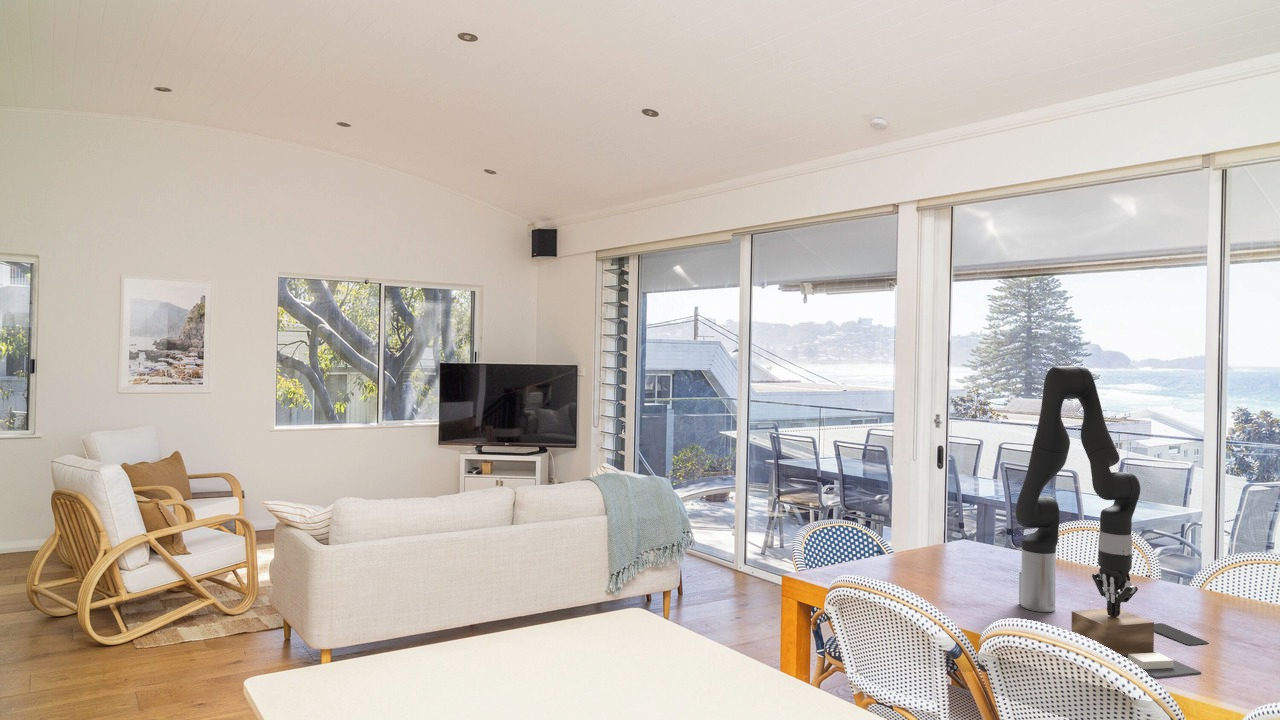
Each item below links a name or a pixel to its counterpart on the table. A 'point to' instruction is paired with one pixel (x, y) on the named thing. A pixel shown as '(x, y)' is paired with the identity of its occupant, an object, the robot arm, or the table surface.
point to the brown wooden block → (1115, 630)
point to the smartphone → (1177, 635)
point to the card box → (1151, 661)
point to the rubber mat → (1171, 670)
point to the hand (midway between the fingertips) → (1113, 615)
